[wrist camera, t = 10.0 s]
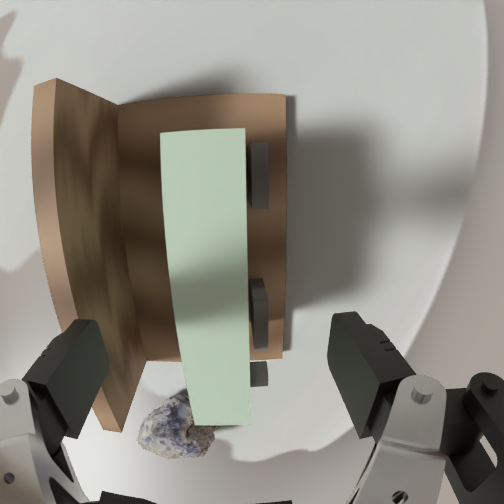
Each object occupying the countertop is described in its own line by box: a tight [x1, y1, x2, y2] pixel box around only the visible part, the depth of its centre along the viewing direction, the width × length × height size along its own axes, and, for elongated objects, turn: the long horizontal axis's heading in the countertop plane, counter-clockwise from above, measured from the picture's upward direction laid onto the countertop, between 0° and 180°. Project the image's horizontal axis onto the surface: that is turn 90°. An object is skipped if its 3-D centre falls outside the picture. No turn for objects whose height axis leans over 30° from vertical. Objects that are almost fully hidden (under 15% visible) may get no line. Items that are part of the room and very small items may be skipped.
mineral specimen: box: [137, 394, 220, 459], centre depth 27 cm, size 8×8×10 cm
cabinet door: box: [160, 128, 268, 425], centre depth 17 cm, size 14×4×11 cm, turn 1°
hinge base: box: [31, 78, 287, 432], centre depth 18 cm, size 22×14×10 cm, turn 1°
